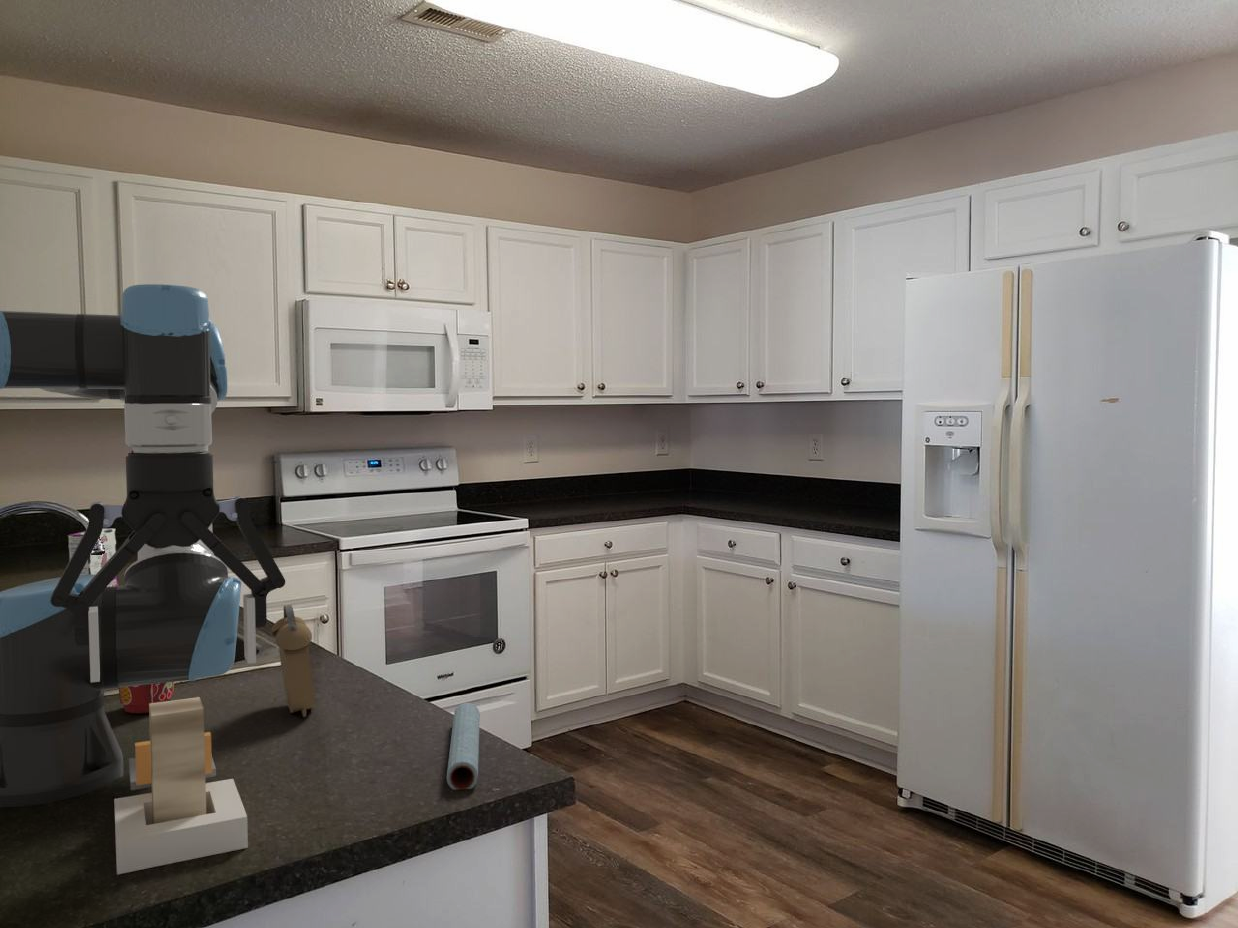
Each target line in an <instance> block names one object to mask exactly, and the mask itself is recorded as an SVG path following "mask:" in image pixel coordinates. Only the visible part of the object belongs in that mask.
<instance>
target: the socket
mask: <svg viewBox="0 0 1238 928" xmlns="http://www.w3.org/2000/svg"><path fill="white" fill-rule="evenodd" d="M114 827H115V832H114V833H115V853H116V854H115V855H116V856H115V859H116V860H115V861H116V875H121V874H127V873H131V872H136V871H140V870H145V869H150V868H154V867H155V868H156V867H161V866H165V865H166V866H167V865H171V864H174V863H175V864H177V863H179V862H185V861H190V860H194V859H199V858H204V857H208V856H213V855H218V854H225V853H228V852H232V851H233V852H234V851H238V850H242V849H248V848H249V841H248V840H249V838H248V833H249V831H248V830H249V829H248V815H247V812H246V809H245V807H244V804H243V801H242V799H241V796H240V793H239V790H238V789H237V785H236V783H235V780H234V778H229V779H223V780H217V781H211V782H206V814H205V815H199V816H194V817H189V818H183V819H178V820H172V821H167V822H162V823H156V824H152V792H148V793H141V794H136V795H129V796H124V797H118V798H114Z"/></svg>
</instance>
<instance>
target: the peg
mask: <svg viewBox="0 0 1238 928" xmlns="http://www.w3.org/2000/svg"><path fill="white" fill-rule="evenodd" d="M148 713H149V714H148V715H149V716H148V717H149V741H150V753H151V787H150V788H151V793H152V824H156V823H162V822H167V821H172V820H178V819H183V818H189V817H194V816H199V815H205V814H206V783H207V782H206V778H205V742H204V733H205V710H204V705H203V703H202V699H201V698H200V696H197V697H188V698H183V699H182V698H180V699H172V700H170V701H165V702H157V703H150V704H149V712H148Z"/></svg>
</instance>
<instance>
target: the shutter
mask: <svg viewBox="0 0 1238 928" xmlns="http://www.w3.org/2000/svg"><path fill="white" fill-rule="evenodd" d="M204 742H205V779H208V778H212V777H216V776H217V767H216V765H215V762H214V759H213V756H212V734H211V731H207V732H205V731H204ZM134 749H135V750H134V754H135V757H128V769H129V770H128V771H129V784H130V791H136V790H142V789H146V788H151V753H150V740H146V741H140V742H135V743H134Z"/></svg>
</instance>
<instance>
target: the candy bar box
mask: <svg viewBox="0 0 1238 928" xmlns="http://www.w3.org/2000/svg"><path fill="white" fill-rule="evenodd" d="M116 532H117V531H116V528H103V529H102V532H101V535H100V539H101V541H102V542H103V545H104V548H105V553H104V554H102V555H91V554H90V556H89V558H88V560H87V562H86V564H85V566H84V568H83V570H82V572H81V574H80V575H87V574H93V575H96V574H97V573H98V572H99V571H100V569H101V568H102V567H103V566H104V565H105V564H106V563H107V561H108V560H109V559H110V558H111V557H112V556H113V555H114V553H115V552H116V551H117V535H116ZM84 533H85V531H81V532H80V531H79V532H77V533H76V532H75V533H73V534H68V535H67V542H68V543H67V545H68V560H69V561H70V559H71V557H72V555H73V553H74V552H75V550H76V548H77V546H78V544H79V542H80V540H81V538H82V536H83V535H84ZM69 561H68V562H69ZM80 575H79V576H80ZM116 586H119V578H118V575H117V576H116V577H115V578H114V579H113V580H112V581H111V582H110V584H109V585H108V586H107V587H116Z"/></svg>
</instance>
